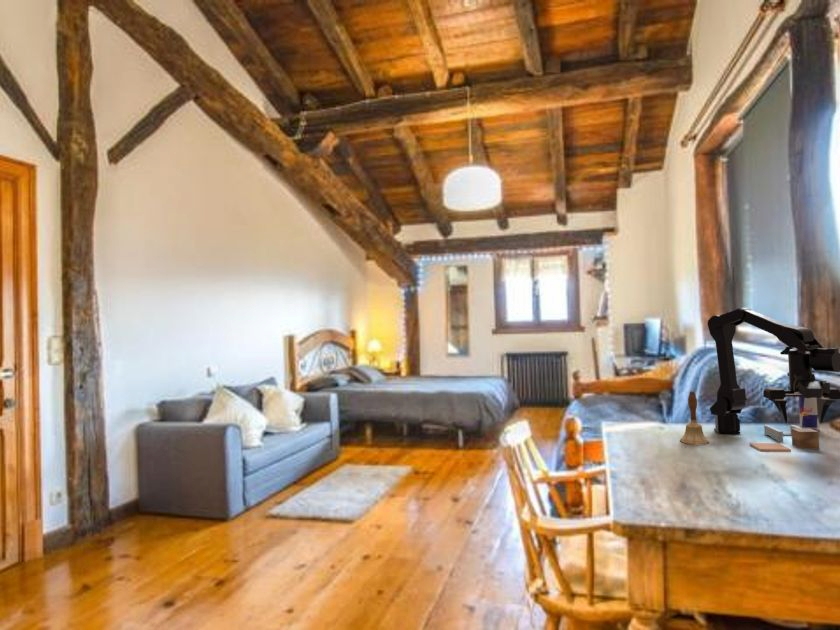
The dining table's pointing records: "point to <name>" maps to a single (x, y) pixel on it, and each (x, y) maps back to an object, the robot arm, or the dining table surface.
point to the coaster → (770, 447)
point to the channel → (777, 432)
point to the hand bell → (693, 425)
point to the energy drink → (808, 413)
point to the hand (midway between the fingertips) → (802, 422)
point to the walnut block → (805, 438)
